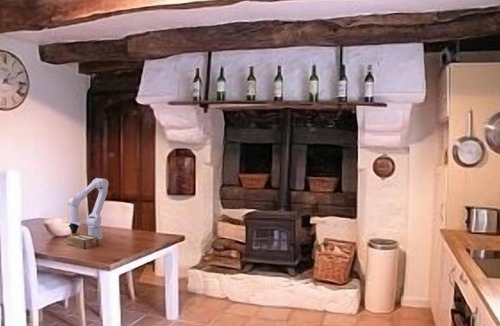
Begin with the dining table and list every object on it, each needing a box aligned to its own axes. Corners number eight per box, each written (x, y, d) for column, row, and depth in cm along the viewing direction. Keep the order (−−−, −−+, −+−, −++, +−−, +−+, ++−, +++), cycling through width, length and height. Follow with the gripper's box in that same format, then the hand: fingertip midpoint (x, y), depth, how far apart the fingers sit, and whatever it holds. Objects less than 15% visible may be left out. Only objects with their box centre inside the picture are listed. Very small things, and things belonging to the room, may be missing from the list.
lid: (80, 235, 329) (80, 232, 329) (95, 238, 320) (94, 235, 320) (68, 237, 321) (68, 234, 321) (82, 241, 312) (82, 237, 312)
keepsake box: (81, 241, 330) (81, 233, 330) (98, 245, 320) (97, 237, 319) (67, 244, 321) (67, 236, 321) (83, 248, 311) (83, 240, 310)
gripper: (62, 214, 325) (62, 234, 326) (75, 217, 317) (75, 237, 318) (71, 213, 331) (71, 232, 332) (84, 215, 323) (84, 235, 324)
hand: (74, 234), depth 325 cm, fingers closed
